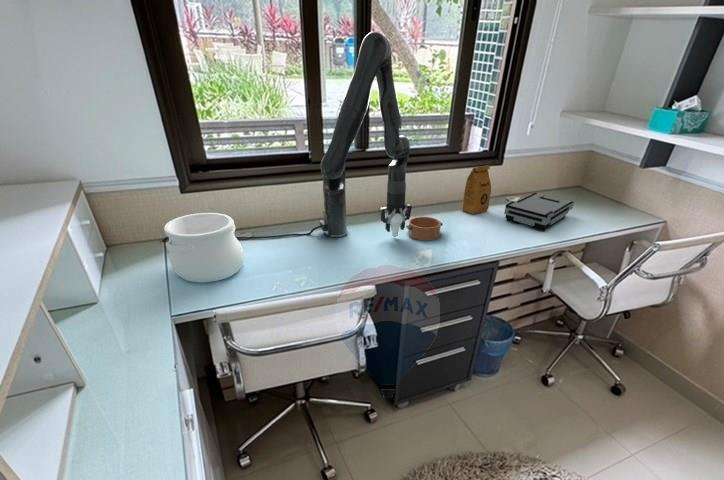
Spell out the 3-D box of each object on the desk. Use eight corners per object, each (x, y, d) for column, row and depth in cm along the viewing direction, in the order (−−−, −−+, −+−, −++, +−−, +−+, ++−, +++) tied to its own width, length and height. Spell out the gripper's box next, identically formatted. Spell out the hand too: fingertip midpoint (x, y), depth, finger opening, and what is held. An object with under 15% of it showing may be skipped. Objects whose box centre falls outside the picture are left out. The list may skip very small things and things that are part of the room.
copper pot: (414, 242, 172) (414, 230, 169) (400, 230, 183) (401, 219, 179) (447, 237, 178) (448, 225, 174) (433, 226, 188) (434, 214, 185)
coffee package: (490, 212, 206) (498, 167, 193) (472, 216, 200) (479, 170, 187) (477, 206, 212) (484, 162, 199) (459, 210, 207) (465, 165, 194)
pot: (203, 294, 134) (188, 244, 124) (158, 274, 144) (141, 227, 134) (261, 265, 152) (253, 219, 142) (218, 249, 162) (207, 206, 152)
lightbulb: (392, 240, 171) (392, 215, 165) (385, 235, 176) (385, 210, 169) (404, 238, 174) (405, 213, 167) (397, 233, 178) (398, 208, 172)
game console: (570, 215, 204) (575, 199, 199) (543, 233, 185) (547, 215, 180) (531, 206, 215) (535, 190, 210) (502, 221, 196) (505, 204, 191)
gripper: (408, 186, 168) (406, 225, 178) (376, 189, 164) (376, 229, 173) (416, 191, 163) (413, 231, 173) (383, 195, 158) (382, 235, 168)
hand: (395, 230), depth 173 cm, fingers closed on lightbulb, 6 cm apart
